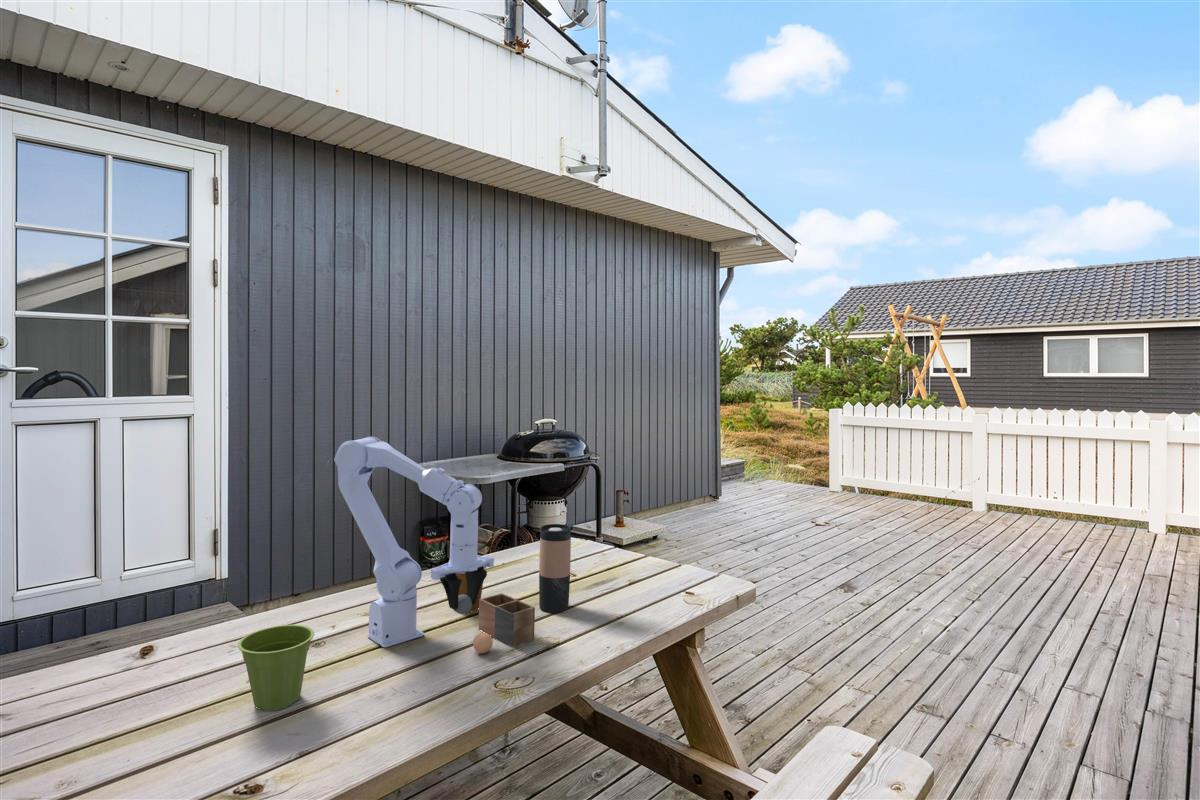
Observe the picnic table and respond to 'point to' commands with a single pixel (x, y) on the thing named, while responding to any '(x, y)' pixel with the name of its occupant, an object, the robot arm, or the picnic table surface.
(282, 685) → the plant pot
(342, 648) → the picnic table surface
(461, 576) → the disposable coffee cup
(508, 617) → the divided wooden sorting box
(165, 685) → the picnic table surface
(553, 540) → the travel mug
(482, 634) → the terracotta ball
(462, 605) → the charcoal ball
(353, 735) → the picnic table surface
